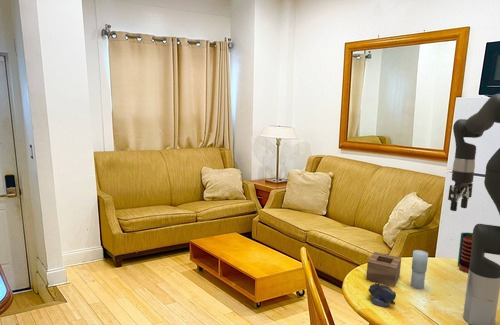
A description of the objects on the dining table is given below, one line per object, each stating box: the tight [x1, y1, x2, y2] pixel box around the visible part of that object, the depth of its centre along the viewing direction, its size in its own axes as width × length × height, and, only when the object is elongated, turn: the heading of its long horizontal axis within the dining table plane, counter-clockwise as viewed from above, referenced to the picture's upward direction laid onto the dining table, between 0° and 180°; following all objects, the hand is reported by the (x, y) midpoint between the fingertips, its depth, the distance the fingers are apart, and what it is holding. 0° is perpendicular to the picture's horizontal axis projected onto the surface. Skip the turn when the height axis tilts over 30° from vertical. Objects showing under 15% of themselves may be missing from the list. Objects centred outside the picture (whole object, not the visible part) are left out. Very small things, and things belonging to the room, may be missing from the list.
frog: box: [368, 281, 397, 309], centre depth 139 cm, size 9×11×7 cm
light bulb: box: [410, 249, 429, 290], centre depth 151 cm, size 5×5×14 cm
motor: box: [456, 232, 486, 274], centre depth 167 cm, size 10×9×20 cm
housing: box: [365, 251, 402, 288], centre depth 158 cm, size 12×11×8 cm
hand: (458, 209), depth 155 cm, fingers open, 8 cm apart
